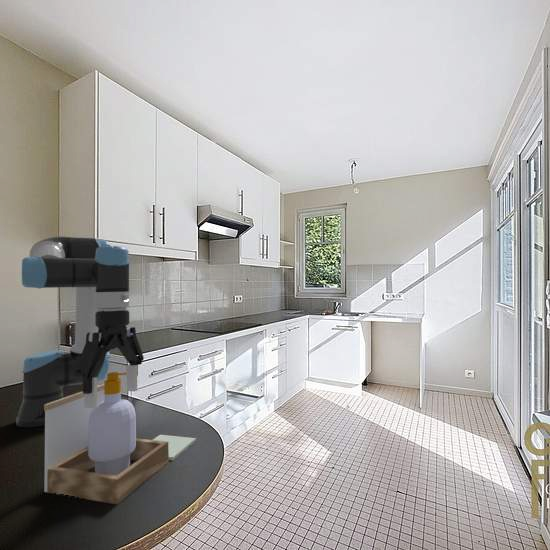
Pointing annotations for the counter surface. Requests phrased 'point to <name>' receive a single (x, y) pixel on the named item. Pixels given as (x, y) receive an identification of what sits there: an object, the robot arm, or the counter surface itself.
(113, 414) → the soap bottle
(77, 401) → the lid
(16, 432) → the counter surface
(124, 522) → the counter surface
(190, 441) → the trivet
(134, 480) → the frame
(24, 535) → the counter surface
